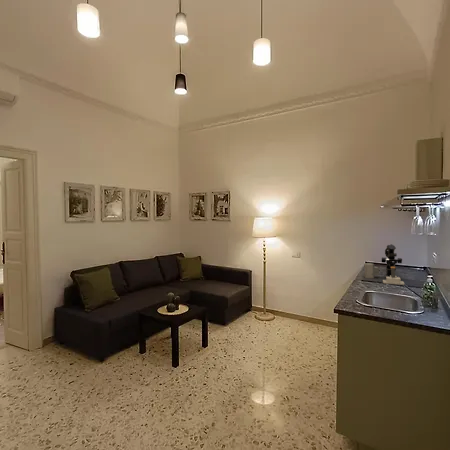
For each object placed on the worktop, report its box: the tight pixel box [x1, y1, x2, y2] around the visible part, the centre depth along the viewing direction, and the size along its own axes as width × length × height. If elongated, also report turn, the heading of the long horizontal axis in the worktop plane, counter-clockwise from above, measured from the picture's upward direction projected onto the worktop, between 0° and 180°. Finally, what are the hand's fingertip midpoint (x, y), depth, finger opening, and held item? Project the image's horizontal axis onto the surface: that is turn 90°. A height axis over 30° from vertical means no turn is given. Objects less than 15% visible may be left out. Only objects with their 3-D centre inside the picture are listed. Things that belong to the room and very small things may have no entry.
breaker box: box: [382, 275, 405, 286], centre depth 289 cm, size 10×18×7 cm, turn 64°
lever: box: [391, 267, 396, 277], centre depth 291 cm, size 2×4×10 cm, turn 64°
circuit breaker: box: [363, 262, 381, 279], centre depth 313 cm, size 8×14×15 cm, turn 78°
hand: (392, 266), depth 301 cm, fingers open, 3 cm apart
